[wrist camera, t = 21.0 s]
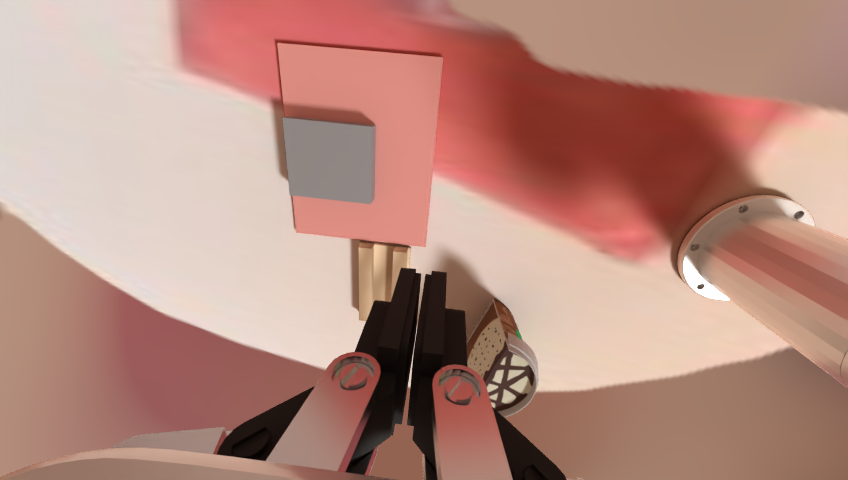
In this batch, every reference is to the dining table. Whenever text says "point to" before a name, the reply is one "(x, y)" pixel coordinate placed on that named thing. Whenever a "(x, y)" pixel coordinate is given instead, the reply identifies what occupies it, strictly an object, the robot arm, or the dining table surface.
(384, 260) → the stand
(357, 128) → the grey square slab
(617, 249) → the dining table surface
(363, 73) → the mat
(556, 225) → the dining table surface
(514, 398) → the half round cake
